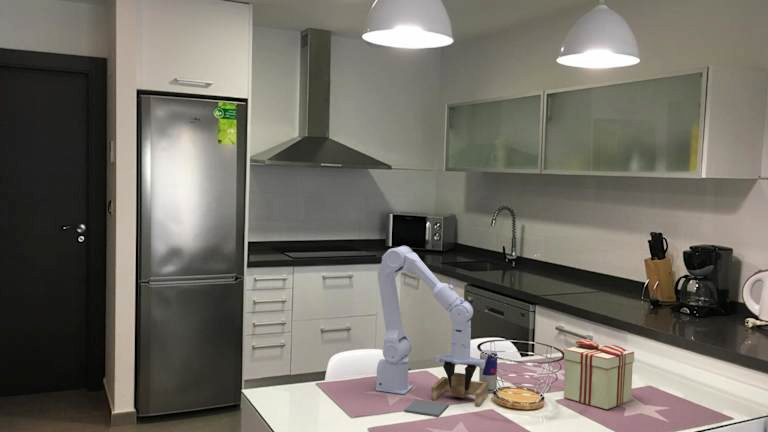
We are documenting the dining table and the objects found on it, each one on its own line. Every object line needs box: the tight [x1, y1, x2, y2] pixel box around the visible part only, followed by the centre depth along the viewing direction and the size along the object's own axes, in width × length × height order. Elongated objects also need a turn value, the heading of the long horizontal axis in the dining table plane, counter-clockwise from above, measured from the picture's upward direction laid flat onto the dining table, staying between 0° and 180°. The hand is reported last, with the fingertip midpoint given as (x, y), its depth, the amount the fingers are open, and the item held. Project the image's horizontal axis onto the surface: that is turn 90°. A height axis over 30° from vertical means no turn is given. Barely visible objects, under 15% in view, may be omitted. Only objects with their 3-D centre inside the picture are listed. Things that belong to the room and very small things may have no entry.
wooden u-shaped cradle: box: [430, 376, 489, 407], centre depth 201 cm, size 14×11×4 cm
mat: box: [403, 398, 449, 418], centre depth 191 cm, size 10×10×1 cm
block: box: [450, 372, 469, 399], centre depth 201 cm, size 4×4×6 cm
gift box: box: [563, 338, 635, 410], centre depth 203 cm, size 17×18×17 cm
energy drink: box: [478, 349, 498, 394], centre depth 209 cm, size 5×5×12 cm
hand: (459, 388), depth 201 cm, fingers closed on block, 4 cm apart
